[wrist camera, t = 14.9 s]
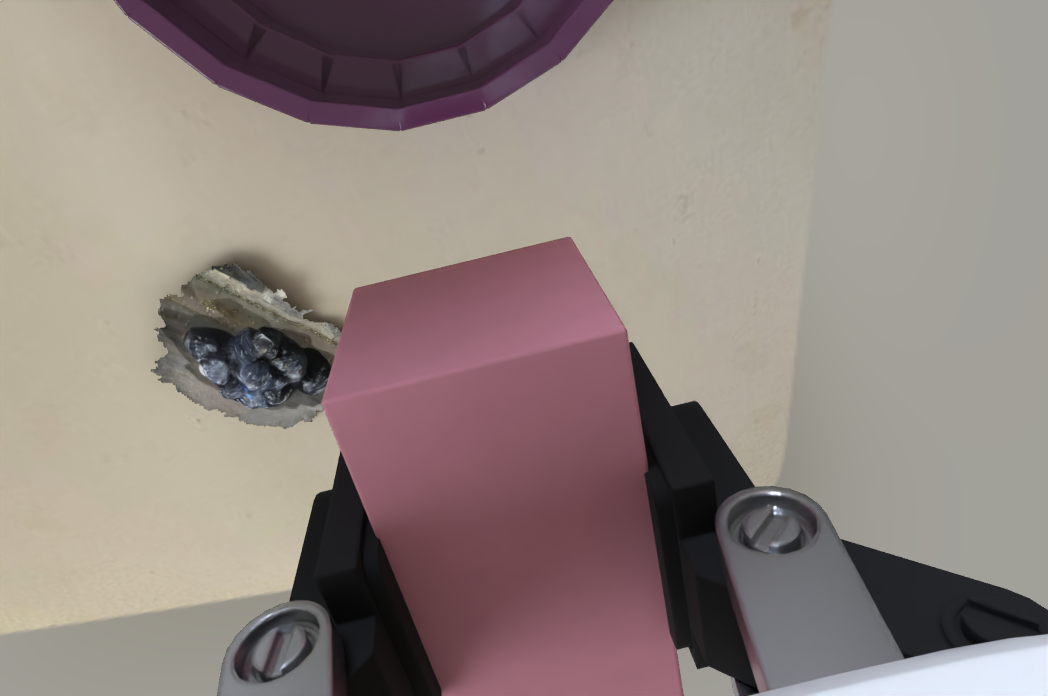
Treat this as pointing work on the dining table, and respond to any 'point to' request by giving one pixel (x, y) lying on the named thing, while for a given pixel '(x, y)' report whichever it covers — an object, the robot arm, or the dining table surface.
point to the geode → (245, 349)
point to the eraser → (507, 474)
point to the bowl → (369, 52)
